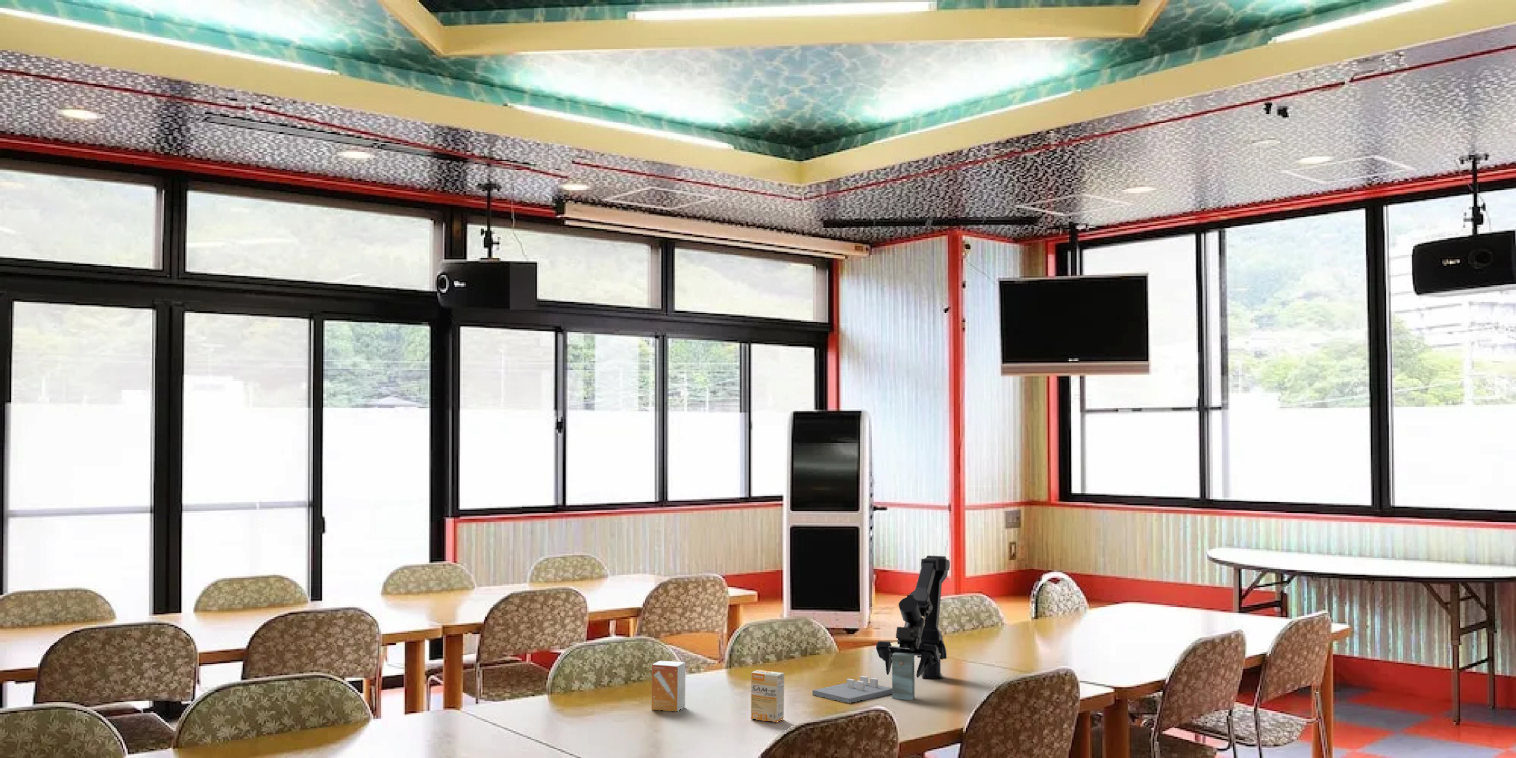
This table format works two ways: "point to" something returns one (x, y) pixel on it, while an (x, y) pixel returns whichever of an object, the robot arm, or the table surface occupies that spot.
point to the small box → (668, 685)
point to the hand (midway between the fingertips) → (902, 675)
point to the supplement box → (767, 695)
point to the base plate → (854, 690)
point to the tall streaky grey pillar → (903, 676)
